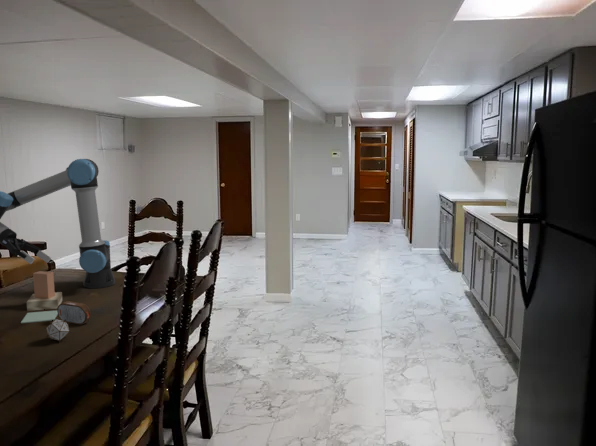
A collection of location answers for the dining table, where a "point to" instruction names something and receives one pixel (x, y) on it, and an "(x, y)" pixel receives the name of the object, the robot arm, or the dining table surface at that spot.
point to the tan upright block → (43, 284)
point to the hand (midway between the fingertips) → (41, 261)
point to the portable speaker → (74, 312)
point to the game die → (57, 329)
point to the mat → (40, 316)
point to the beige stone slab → (44, 302)
